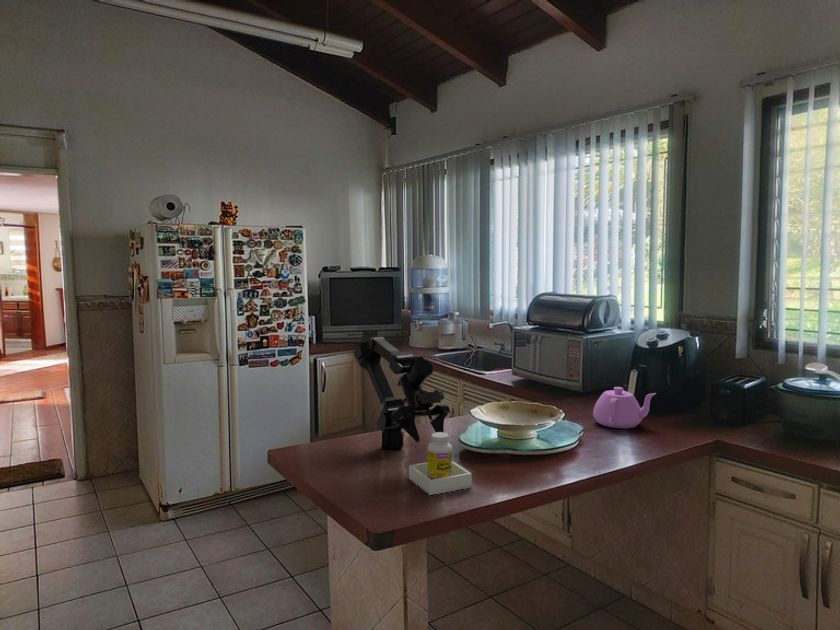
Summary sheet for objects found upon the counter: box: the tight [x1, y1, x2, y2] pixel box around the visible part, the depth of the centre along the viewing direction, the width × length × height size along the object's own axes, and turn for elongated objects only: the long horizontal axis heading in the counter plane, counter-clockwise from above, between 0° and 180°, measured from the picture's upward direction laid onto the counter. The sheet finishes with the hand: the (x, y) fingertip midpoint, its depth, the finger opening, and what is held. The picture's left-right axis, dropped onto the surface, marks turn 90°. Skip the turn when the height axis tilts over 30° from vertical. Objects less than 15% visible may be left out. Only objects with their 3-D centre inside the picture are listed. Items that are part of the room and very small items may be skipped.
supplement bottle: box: [426, 432, 453, 480], centre depth 158 cm, size 7×7×13 cm
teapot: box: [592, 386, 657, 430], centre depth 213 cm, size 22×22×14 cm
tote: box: [408, 460, 473, 496], centre depth 159 cm, size 13×13×4 cm
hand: (430, 440), depth 167 cm, fingers open, 9 cm apart
